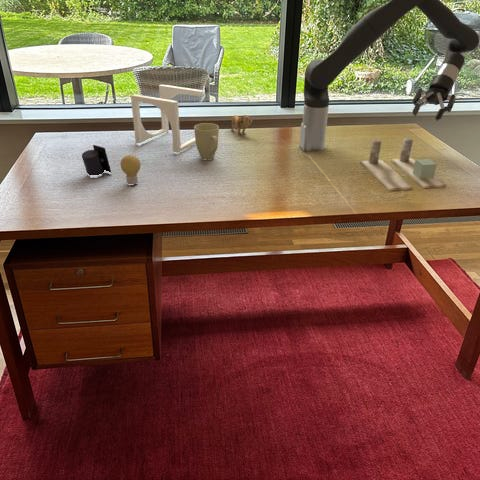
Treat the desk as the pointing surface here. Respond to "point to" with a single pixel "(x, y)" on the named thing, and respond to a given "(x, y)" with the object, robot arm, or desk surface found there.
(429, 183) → the block strip
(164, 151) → the desk surface
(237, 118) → the lion figurine
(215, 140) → the mug
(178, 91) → the cream frame stand
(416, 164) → the sage block
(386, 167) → the empty strip
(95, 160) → the speaker
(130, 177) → the light bulb
